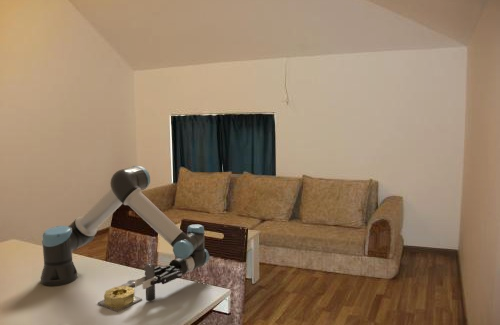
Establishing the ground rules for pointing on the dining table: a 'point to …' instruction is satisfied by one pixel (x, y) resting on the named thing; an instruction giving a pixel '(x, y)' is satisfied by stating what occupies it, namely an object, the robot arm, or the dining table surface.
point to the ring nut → (119, 298)
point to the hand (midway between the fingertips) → (139, 284)
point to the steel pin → (148, 275)
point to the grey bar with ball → (129, 283)
